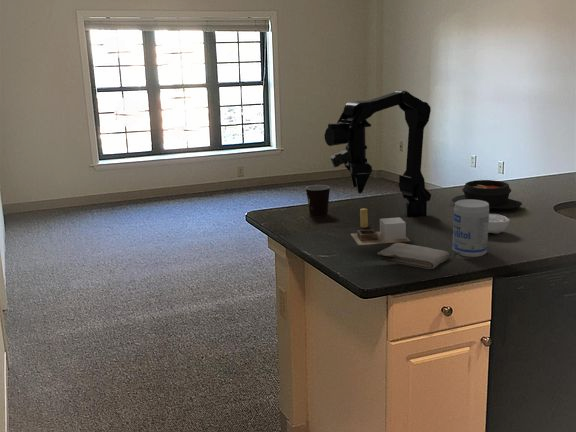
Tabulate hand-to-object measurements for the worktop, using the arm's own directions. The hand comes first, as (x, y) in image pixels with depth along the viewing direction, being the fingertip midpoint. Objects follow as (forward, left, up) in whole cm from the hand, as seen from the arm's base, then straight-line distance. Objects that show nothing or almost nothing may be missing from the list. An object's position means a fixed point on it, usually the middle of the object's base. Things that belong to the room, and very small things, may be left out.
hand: (357, 190), depth 206 cm
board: (-4, +14, -13) cm, 20 cm away
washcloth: (-9, +32, -14) cm, 36 cm away
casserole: (-51, -17, -14) cm, 55 cm away
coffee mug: (+9, -24, -14) cm, 29 cm away
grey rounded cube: (-8, +14, -12) cm, 20 cm away
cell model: (-39, +14, -14) cm, 43 cm away
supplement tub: (-26, +31, -14) cm, 43 cm away
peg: (-2, +1, -13) cm, 14 cm away
